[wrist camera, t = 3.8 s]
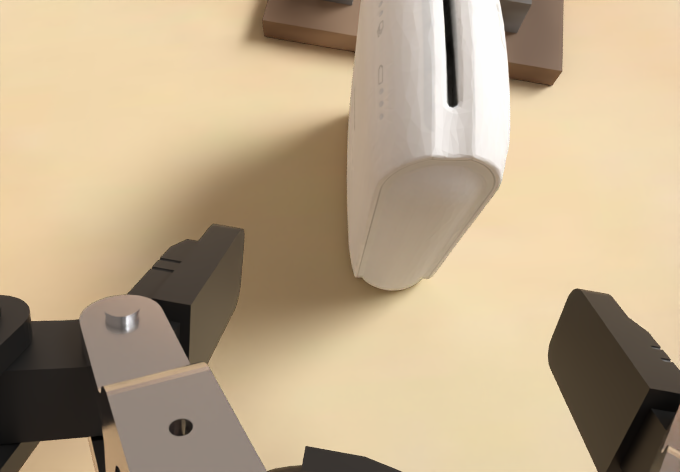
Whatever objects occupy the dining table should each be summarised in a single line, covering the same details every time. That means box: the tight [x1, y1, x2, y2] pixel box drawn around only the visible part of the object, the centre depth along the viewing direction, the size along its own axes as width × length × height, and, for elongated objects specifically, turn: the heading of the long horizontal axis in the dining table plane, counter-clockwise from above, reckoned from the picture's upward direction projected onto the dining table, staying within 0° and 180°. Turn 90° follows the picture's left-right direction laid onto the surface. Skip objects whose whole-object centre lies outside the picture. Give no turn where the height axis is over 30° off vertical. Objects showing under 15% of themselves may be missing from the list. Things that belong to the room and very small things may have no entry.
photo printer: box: [347, 0, 510, 290], centre depth 19 cm, size 10×4×12 cm, turn 179°
